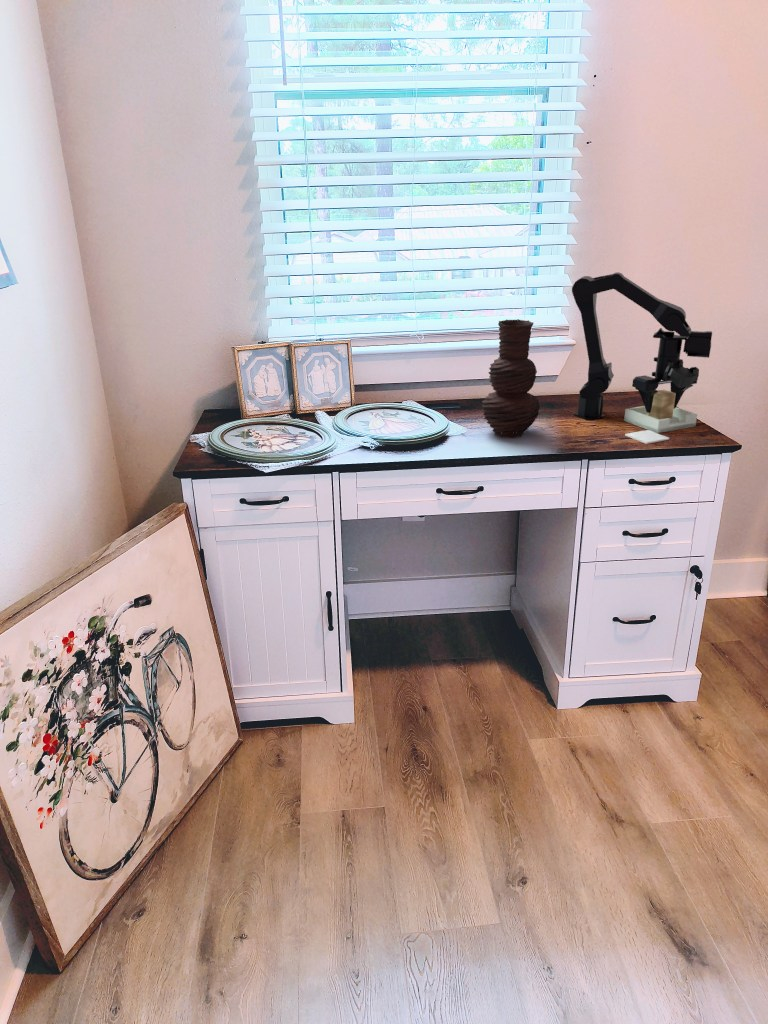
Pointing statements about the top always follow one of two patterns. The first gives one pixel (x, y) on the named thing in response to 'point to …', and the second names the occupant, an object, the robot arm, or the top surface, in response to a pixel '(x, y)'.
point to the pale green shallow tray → (663, 425)
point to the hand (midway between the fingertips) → (660, 410)
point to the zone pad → (647, 436)
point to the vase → (512, 382)
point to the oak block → (663, 404)
